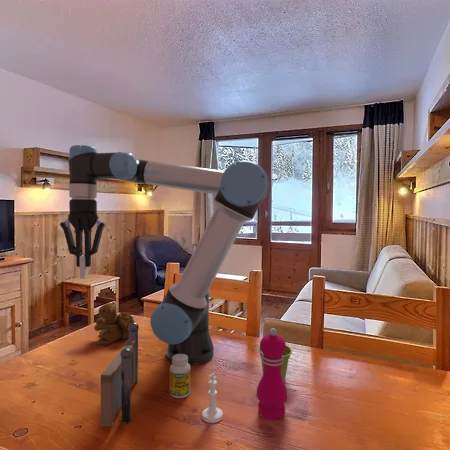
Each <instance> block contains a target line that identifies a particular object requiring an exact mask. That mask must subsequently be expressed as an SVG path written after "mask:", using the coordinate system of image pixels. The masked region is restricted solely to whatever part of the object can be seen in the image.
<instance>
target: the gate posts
mask: <svg viewBox="0 0 450 450" xmlns="http://www.w3.org/2000/svg"><path fill="white" fill-rule="evenodd" d="M139 327H140V325H139V324H138V323H137V322H136V321H134V322H132V323H130V324H129V326H128V330H129V337H128V340H135V342H136V348H135V383H134V385H137V384H138V382H139V329H140V328H139ZM131 354H132V352H131V350H130V349H129V348H125V349H123V350H122V351H121V353H120V356H121V406H120V409H121V414H120V415H121V417H120V418H121V420H120V421H121V423H123V424H126V423H129V422H130V421H131V420H132V419H131V418H132V417H131V415H132V414H131V412H132V410H131V409H132V406H131V405H132V402H131V398H132V393H131V391H132V390H131V388H132V386H131Z"/></svg>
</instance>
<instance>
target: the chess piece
mask: <svg viewBox="0 0 450 450" xmlns="http://www.w3.org/2000/svg"><path fill="white" fill-rule="evenodd" d="M208 378H209V379H210V380H209V381H207V382H208V383H207V384H208V386H209V390H208V392H207V395H209V405H208V407H206V408H205V409H203V411H202V412H201V419H202V421H204V422H205V423H206V422H207V423H210V424H211V423H212V424H216V423H218V422H220V421H221V420H222V419H223V418H224V414H223V411H222V409H221V408H219V407H217V406H216V405H217V404H216V396H217V394H218V391H217V389H216V387H217V385H218V382H217V376H215V373H213V372H212V373H211V374H210V375H209V376H208Z"/></svg>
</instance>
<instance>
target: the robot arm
mask: <svg viewBox="0 0 450 450" xmlns="http://www.w3.org/2000/svg"><path fill="white" fill-rule="evenodd" d="M68 152H69V153H68V154H69V155H68V168H69V169H68V172H69V175H68V176H69V181H68V182H69V183H68V185H69V186H68V187H69V188H68V193H69V194H68V196H69V198H71V199H69V202H68V203H69V205H68V207H69V214H68V216H67V219H66V220H64V221H61V222H60V223H59V226H60V227H61V229H62V230H63V233H64V236H65V241H66V245H67V248H68V252H69V254H70V255H74V256H75V257H76V258H75V259H76V260H75V261H76V264H75V265H76V267H77V268H79V279H84V280H85V279H87V278H88V277H89V268H90V267H91V265H92V256H93V255H95V254H97V253H98V251H99V247H100V243H101V239H102V235H103V230H104V229H105V227H106V226H107V222H103V221H102V220H100V219H99V218H100V217H99V215H98V205H97V204H98V202H97V200H96V198H97V191H98V189H97V187H98V186H97V183H98V182H97V181H98V180H118V181H119V180H120V181H123V182H124V181H125V182H131V183H135V184H143V185H151V186H159V187H165V188H171V189H177V190H183V191H184V190H185V191H192V192H197V193H203V194H204V193H205V194H209V195H210V194H211V195H216V196H215V197H214V199H213V201H214V204H215V210H213V213H212V215H211V217H210V220H209V221H208V223H207V225H206V227H205V229H204V232H203V233H202V235H201V237H200V239H199V241H198V243H197V245H196V247H195V249H194V251H193V253H192V254H191V257H190V258H189V260H188V262H187V264H186V266H185V268H184V270H183V271H182V274H181V276H180V277H179V279H178V282H177V283H173V284H171V285H170V286H169V287H168V290H167V291H166V293H165V295H164V296H163V299H162V301H161V303H160V304H158V305H157V306H155V308H154V309H153V311H152V313H151V315H150V321H149V322H150V328H151V330H152V333H153V334H154V335H155V337H157V339H158V340H160V341H161V342H162V343H165V344H167V348H166V356H167V359H168V360H169V361H171V362H172V357H173V356H174V355H176V354H185V355H187V356H188V363H189V365H190V366H191V365H198V364H203V363H206V362H208V361H209V360H211V359H212V358H213V357H214V355H215V352H214V349H215V348H214V344H213V341H212V337H211V334H210V332H209V322H210V321H209V320H210V318H209V317H210V314H209V313H210V288H211V286H212V284H213V282H214V281H215V278H216V277H217V276H218V273H219V271H220V270H221V267H222V265H223V263H224V261H225V259H226V258H227V256H228V254H229V253H230V251H231V248H232V246H233V245H234V243H235V241H236V239H237V237H238V235H239V233H240V232H241V230H242V227H244V224H245V223H246V222H249V221H253V218H254V217H255V215H256V213H257V212H258V210H259V207H260V206H261V204H262V203H264V201H265V200H266V199H267V198H268V196H269V194H270V192H271V181H270V177H269V175H268V173H267V172H266V171H265V169H264V168H263V167H262V166H261V165H259V164H258V163H257V162H256V163H255V162H253V161H250V160H240V161H239V160H238V161H236V162H233V163H232V164H230V165H229V166H228V167H226V169H225V170H221V169H211V168H204V167H197V166H189V165H182V164H174V163H167V162H160V161H159V162H158V161H151V160H146V159H137V158H135V157H134V154H133V153H130V152H122V151H117V152H97V148H96V147H95V146H91V145H85V144H83V145H82V144H81V145H80V144H74V145H71V146H70V147H69V151H68ZM71 225H72V227H73V228H74V234H75V239H74V236H73V232H72V229H71ZM95 225H96V230H95V234H94V238H93V242H92V232H93V228H94V227H95ZM83 234H84V236H83ZM83 238H84V242H83ZM83 243H84V244H83ZM83 245H84V248H83ZM83 249H84V251H83Z"/></svg>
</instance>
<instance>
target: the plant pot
mask: <svg viewBox="0 0 450 450" xmlns="http://www.w3.org/2000/svg"><path fill="white" fill-rule="evenodd" d="M257 347H258V352H259V356H260V359H261V360H260V361H261V368H262V369H261V370H262V373H263V372H264V363H263V362H262V354H263V353H262V351H261V349H260V345H258V346H257ZM292 353H293V350H292V348H291V347H290V346H289V345H286V350H285V353H284V354H283V357H284V358H283V364H281V375H282V378H283V381H284V382H285V381H286V377H287V370H288V364H289V359H290V357H291V355H292Z"/></svg>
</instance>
